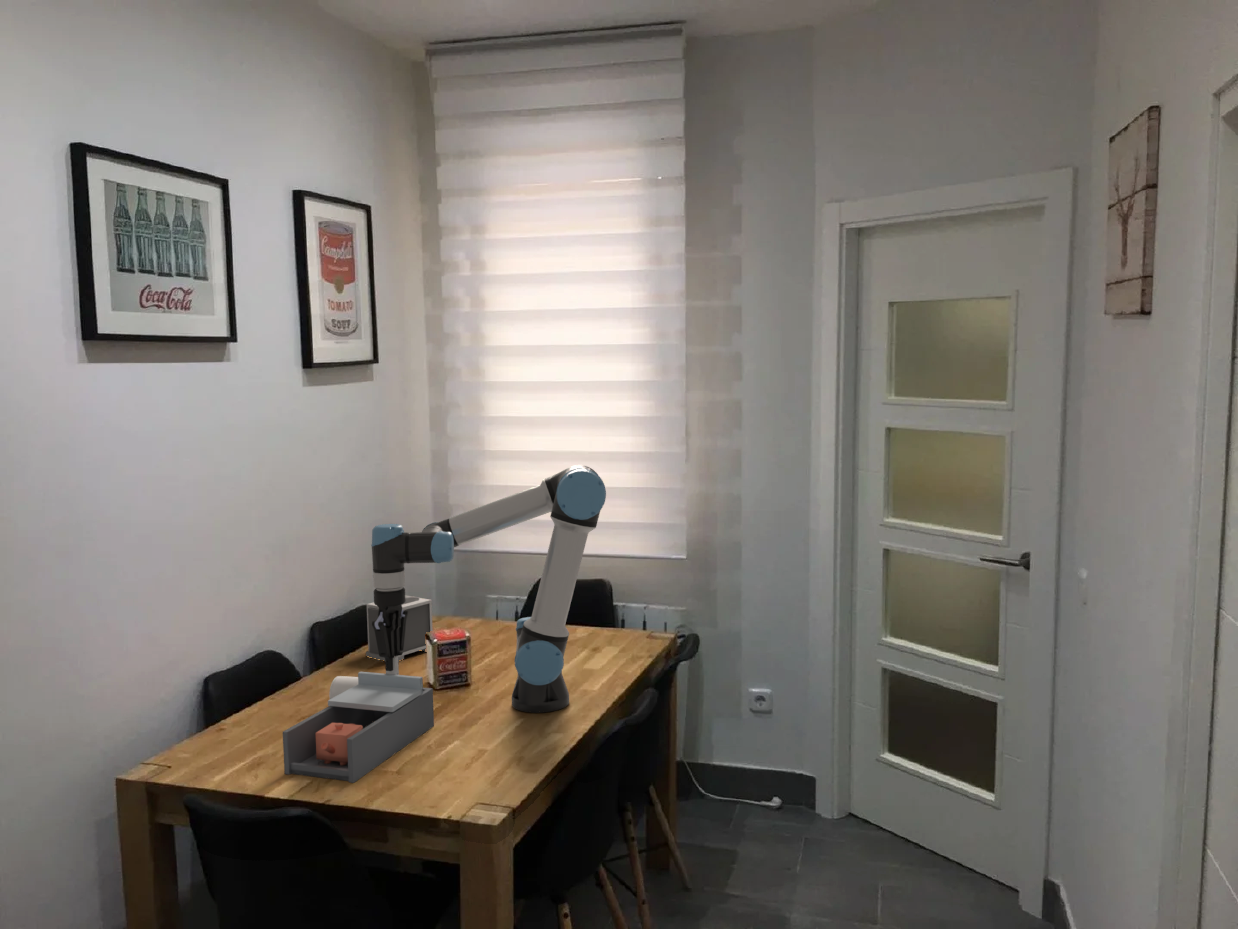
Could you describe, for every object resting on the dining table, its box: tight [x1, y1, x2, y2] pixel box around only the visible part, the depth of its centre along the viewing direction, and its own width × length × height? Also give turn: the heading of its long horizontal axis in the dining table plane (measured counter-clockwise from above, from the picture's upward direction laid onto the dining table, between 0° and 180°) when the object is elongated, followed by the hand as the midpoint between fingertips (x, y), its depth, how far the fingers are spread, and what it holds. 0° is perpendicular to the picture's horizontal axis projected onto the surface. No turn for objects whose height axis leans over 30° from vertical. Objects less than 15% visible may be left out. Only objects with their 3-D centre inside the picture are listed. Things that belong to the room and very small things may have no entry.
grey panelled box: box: [365, 594, 434, 661], centre depth 304 cm, size 18×13×18 cm
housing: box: [282, 687, 435, 784], centre depth 225 cm, size 17×35×10 cm, turn 162°
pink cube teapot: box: [315, 723, 364, 765], centre depth 215 cm, size 8×12×8 cm, turn 164°
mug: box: [328, 675, 358, 700], centre depth 256 cm, size 12×10×8 cm
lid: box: [327, 671, 424, 712], centre depth 230 cm, size 17×14×4 cm
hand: (392, 682), depth 237 cm, fingers closed
